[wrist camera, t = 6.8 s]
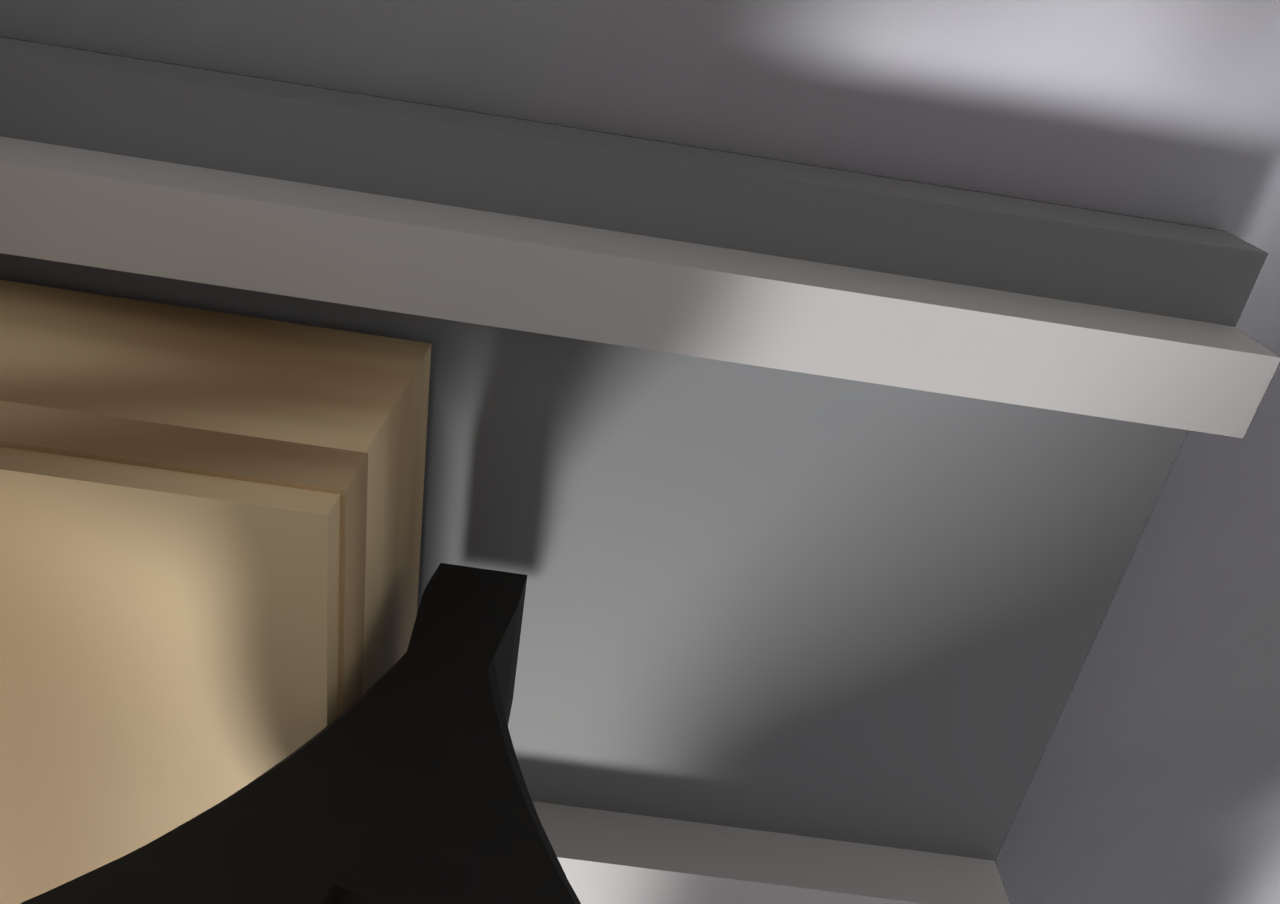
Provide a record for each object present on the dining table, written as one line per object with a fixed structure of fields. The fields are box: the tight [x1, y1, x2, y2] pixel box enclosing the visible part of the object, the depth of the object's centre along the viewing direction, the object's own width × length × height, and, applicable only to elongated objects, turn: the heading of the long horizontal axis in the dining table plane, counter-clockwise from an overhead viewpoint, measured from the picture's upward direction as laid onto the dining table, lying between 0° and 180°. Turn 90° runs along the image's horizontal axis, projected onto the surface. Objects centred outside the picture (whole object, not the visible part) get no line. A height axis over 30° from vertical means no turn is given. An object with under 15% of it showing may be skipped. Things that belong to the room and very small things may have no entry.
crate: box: [0, 280, 431, 904], centre depth 11 cm, size 6×7×4 cm
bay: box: [0, 37, 1280, 904], centre depth 13 cm, size 17×12×4 cm
